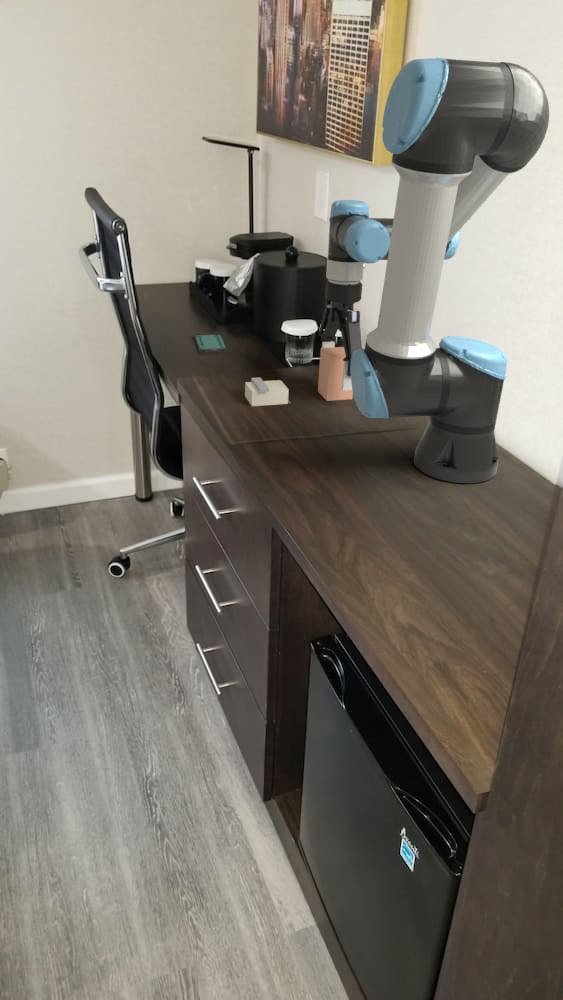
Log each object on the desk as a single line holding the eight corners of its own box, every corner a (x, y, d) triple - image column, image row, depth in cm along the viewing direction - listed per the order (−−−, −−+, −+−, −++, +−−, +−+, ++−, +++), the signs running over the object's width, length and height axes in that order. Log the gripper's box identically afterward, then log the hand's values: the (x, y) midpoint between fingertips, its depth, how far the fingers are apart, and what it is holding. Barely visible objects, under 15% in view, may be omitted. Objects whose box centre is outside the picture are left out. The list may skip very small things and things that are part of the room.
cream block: (291, 407, 162) (292, 387, 160) (252, 410, 160) (253, 389, 158) (281, 396, 168) (282, 375, 166) (244, 398, 166) (244, 378, 164)
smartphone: (199, 350, 192) (193, 333, 205) (199, 355, 193) (194, 338, 206) (228, 350, 194) (220, 333, 207) (228, 354, 194) (220, 337, 207)
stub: (352, 399, 166) (356, 355, 161) (326, 400, 165) (330, 356, 160) (342, 389, 171) (346, 346, 166) (317, 391, 170) (320, 347, 165)
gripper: (385, 293, 146) (375, 397, 156) (340, 269, 168) (333, 362, 177) (349, 294, 144) (341, 399, 154) (308, 269, 166) (303, 363, 175)
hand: (337, 379), depth 166 cm, fingers open, 13 cm apart
